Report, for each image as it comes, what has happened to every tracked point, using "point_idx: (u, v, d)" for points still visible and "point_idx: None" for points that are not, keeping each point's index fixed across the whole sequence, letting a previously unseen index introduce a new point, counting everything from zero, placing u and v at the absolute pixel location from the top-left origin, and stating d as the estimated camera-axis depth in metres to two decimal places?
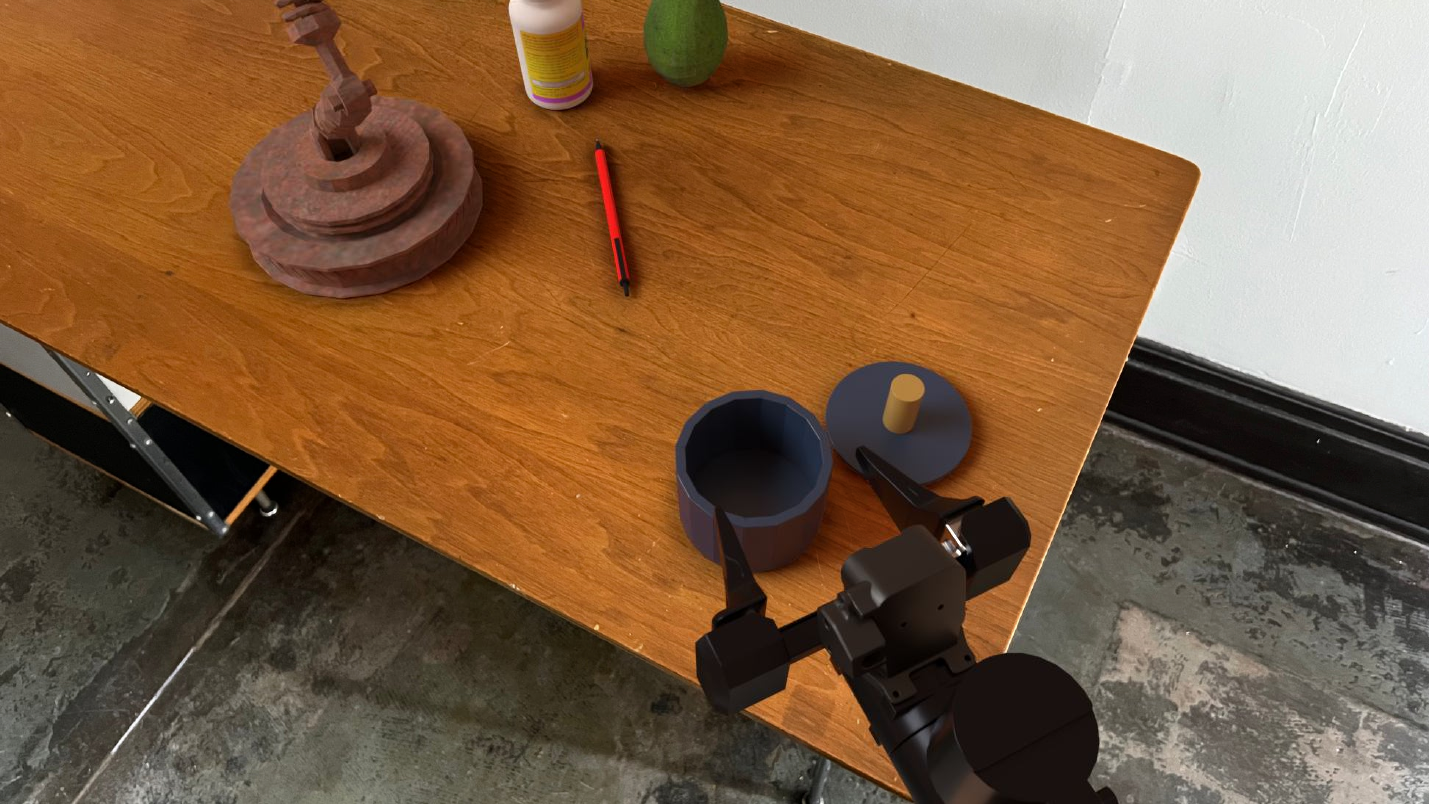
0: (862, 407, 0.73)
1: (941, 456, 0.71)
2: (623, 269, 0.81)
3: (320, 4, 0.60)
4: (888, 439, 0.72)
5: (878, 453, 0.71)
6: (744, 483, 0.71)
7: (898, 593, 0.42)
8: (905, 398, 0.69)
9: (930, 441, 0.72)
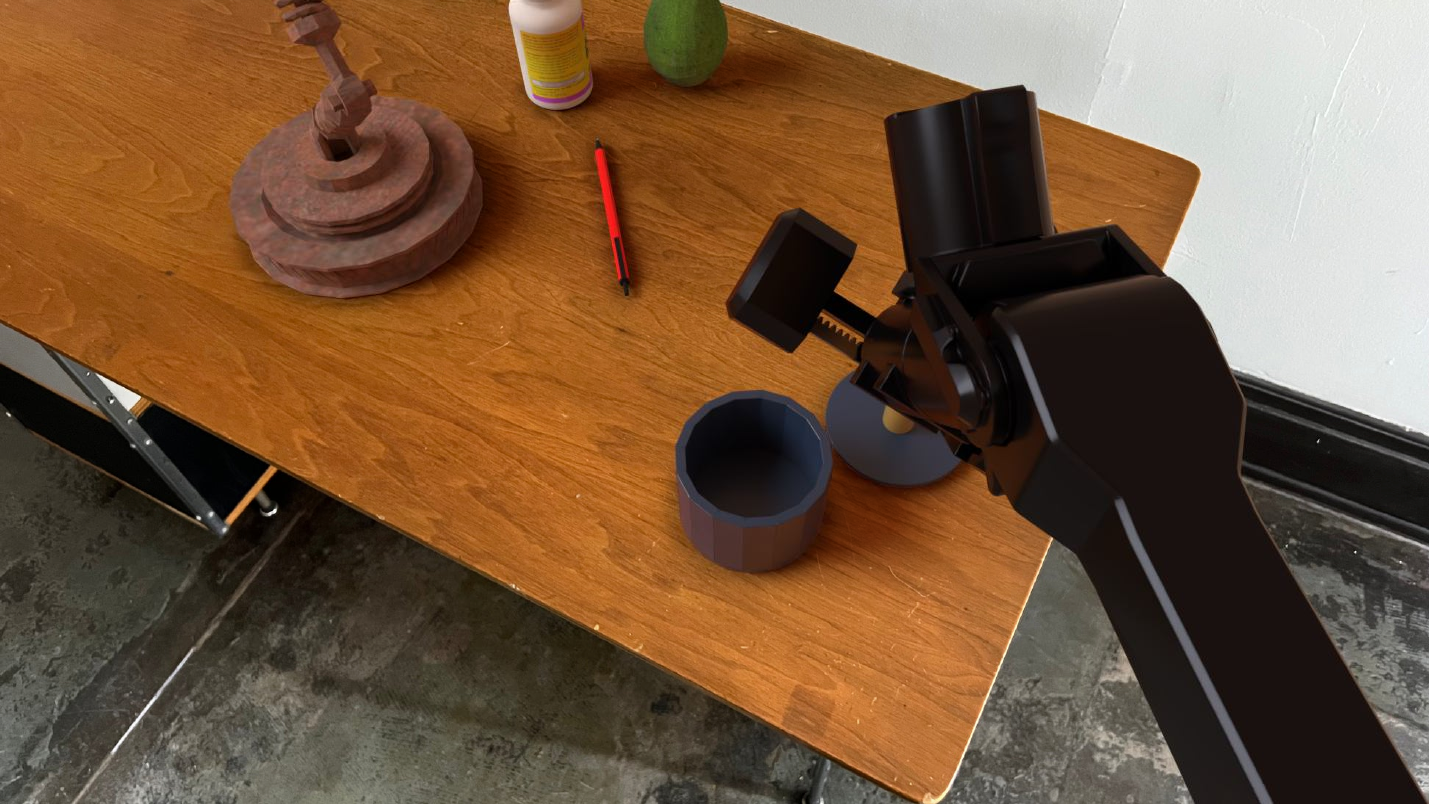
0: (862, 407, 0.73)
1: (941, 456, 0.71)
2: (623, 268, 0.81)
3: (320, 4, 0.60)
4: (888, 439, 0.72)
5: (878, 453, 0.71)
6: (744, 483, 0.71)
7: None
8: None
9: (930, 441, 0.72)
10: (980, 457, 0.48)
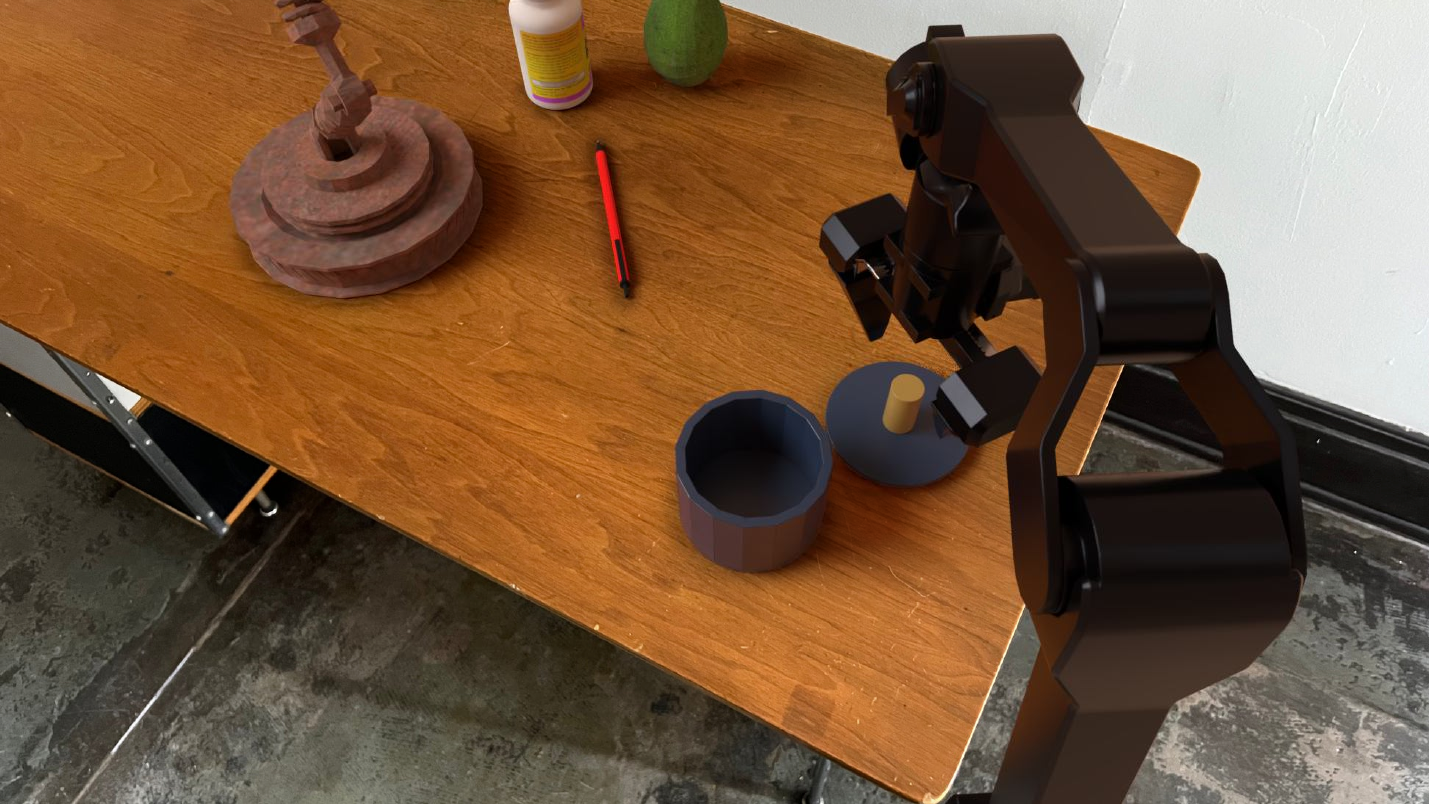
0: (862, 407, 0.73)
1: (941, 456, 0.71)
2: (623, 270, 0.81)
3: (320, 4, 0.60)
4: (888, 439, 0.72)
5: (878, 453, 0.71)
6: (744, 483, 0.71)
7: None
8: (905, 398, 0.69)
9: (930, 441, 0.72)
10: (946, 382, 0.58)
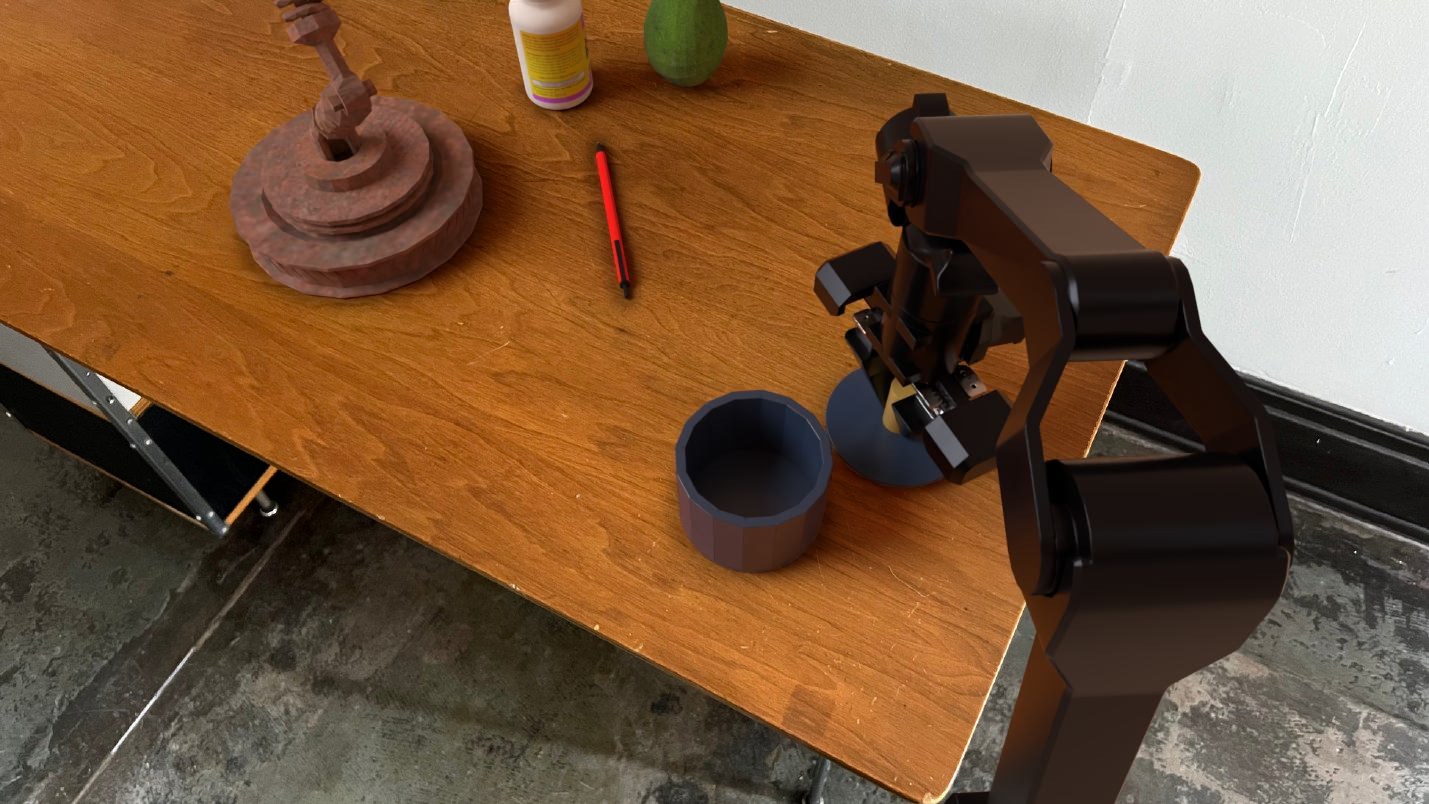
0: (862, 407, 0.73)
1: None
2: (623, 271, 0.81)
3: (320, 4, 0.60)
4: (888, 439, 0.72)
5: (878, 453, 0.71)
6: (744, 483, 0.71)
7: None
8: None
9: None
10: (931, 424, 0.62)
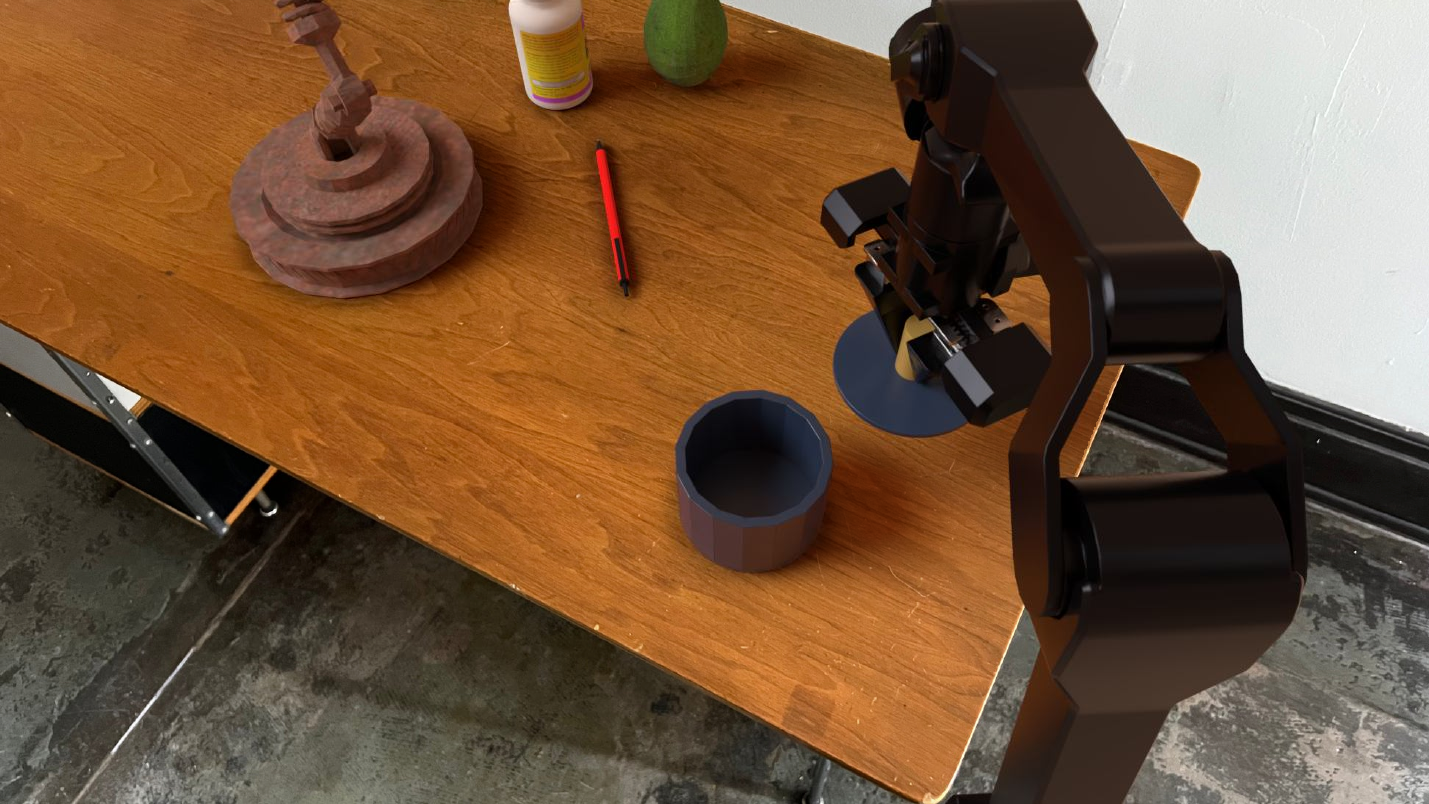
0: (873, 352, 0.68)
1: None
2: (623, 269, 0.81)
3: (320, 4, 0.60)
4: (901, 386, 0.66)
5: (890, 401, 0.65)
6: (744, 483, 0.71)
7: None
8: None
9: None
10: (951, 360, 0.56)
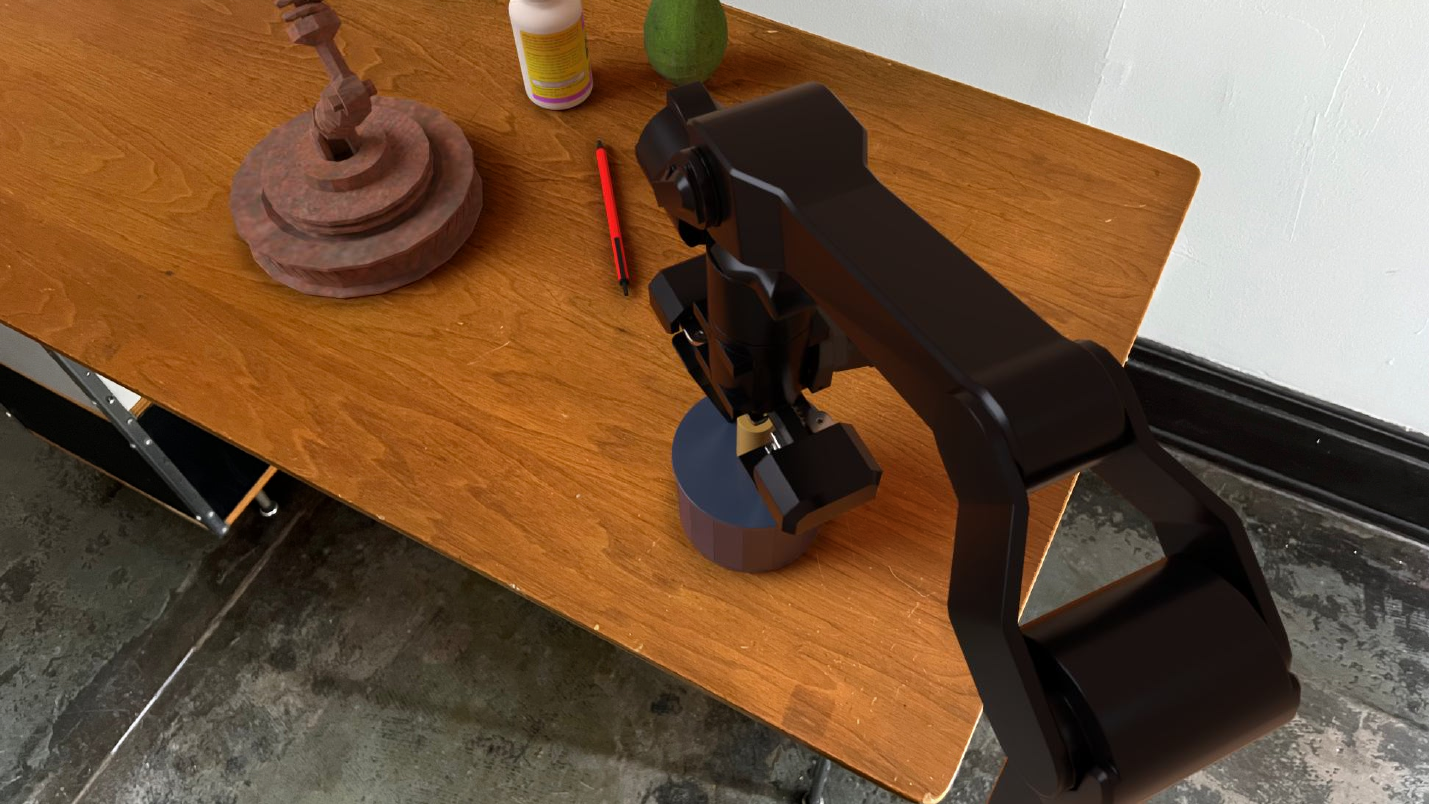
0: (715, 436, 0.64)
1: None
2: (623, 268, 0.81)
3: (320, 4, 0.60)
4: (741, 474, 0.63)
5: (728, 490, 0.62)
6: None
7: None
8: (752, 428, 0.59)
9: None
10: None
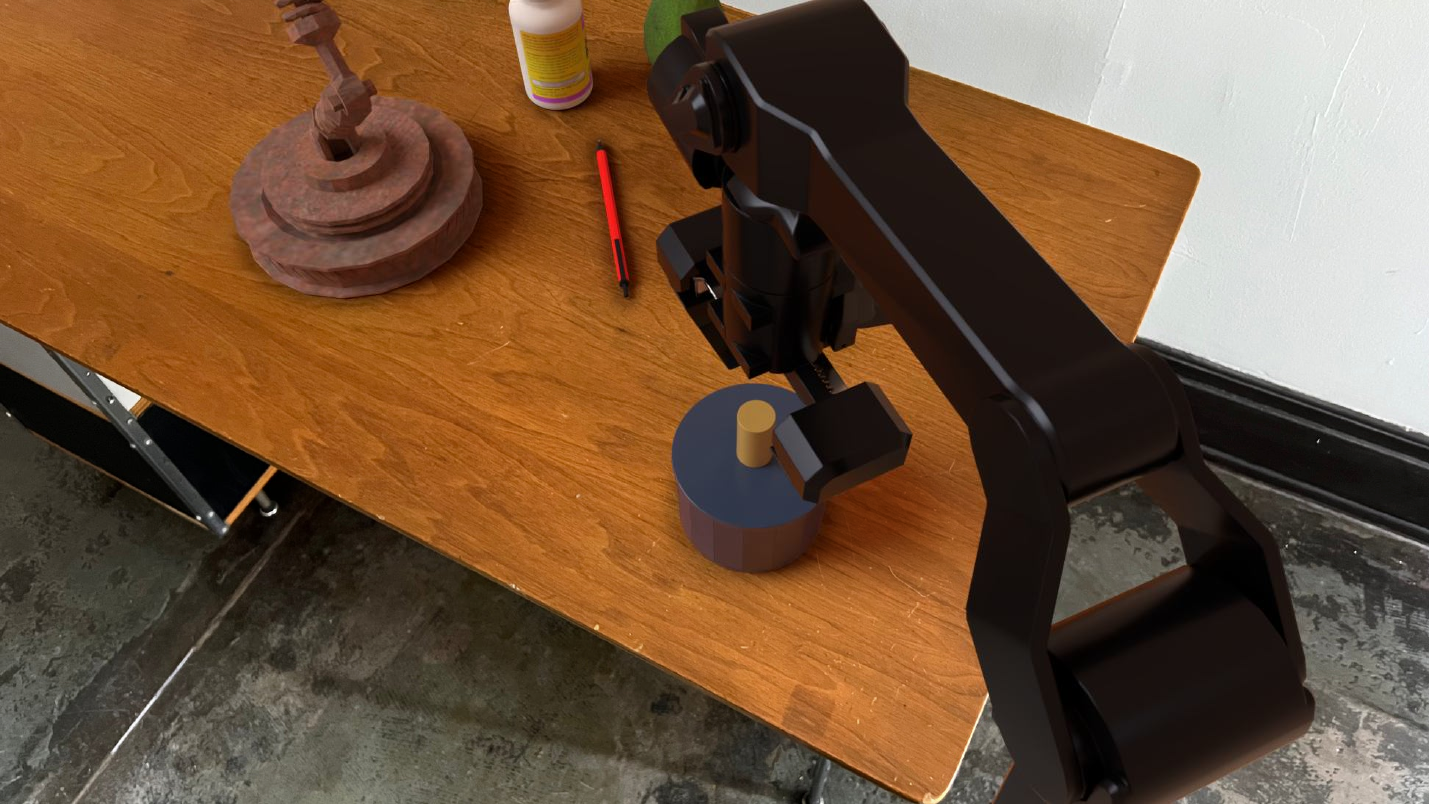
0: (715, 436, 0.64)
1: None
2: (623, 270, 0.81)
3: (320, 4, 0.60)
4: (741, 474, 0.63)
5: (728, 490, 0.62)
6: None
7: None
8: (752, 428, 0.59)
9: None
10: None
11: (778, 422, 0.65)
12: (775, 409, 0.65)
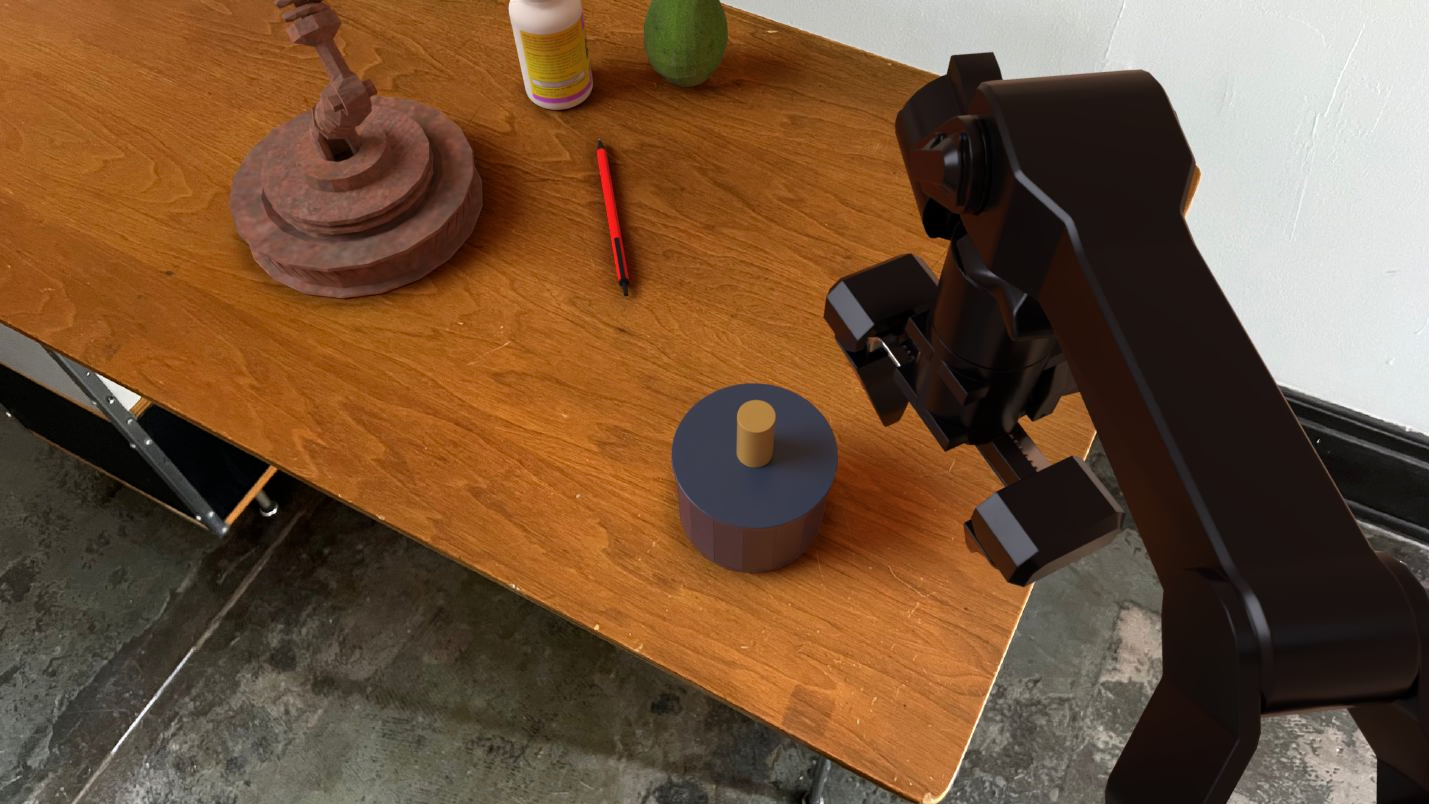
0: (715, 436, 0.64)
1: (799, 494, 0.62)
2: (622, 269, 0.81)
3: (320, 4, 0.60)
4: (741, 474, 0.63)
5: (728, 490, 0.62)
6: None
7: None
8: (752, 428, 0.59)
9: (789, 476, 0.63)
10: (984, 503, 0.46)
11: (778, 422, 0.65)
12: (775, 409, 0.65)
